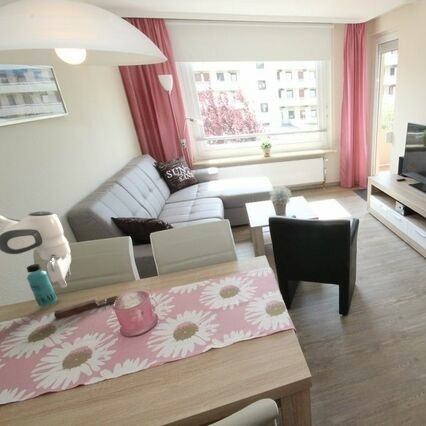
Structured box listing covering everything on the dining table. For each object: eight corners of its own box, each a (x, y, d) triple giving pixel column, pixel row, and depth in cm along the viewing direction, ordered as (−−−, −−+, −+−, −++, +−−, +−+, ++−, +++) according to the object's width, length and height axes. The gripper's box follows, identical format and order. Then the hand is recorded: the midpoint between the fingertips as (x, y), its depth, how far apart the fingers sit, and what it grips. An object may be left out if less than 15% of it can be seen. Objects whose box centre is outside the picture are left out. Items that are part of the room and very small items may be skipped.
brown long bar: (117, 297, 132) (115, 292, 131) (117, 302, 129) (115, 296, 128) (58, 315, 122) (55, 310, 121) (55, 321, 119) (53, 315, 118)
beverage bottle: (43, 303, 131) (26, 264, 124) (61, 299, 133) (45, 260, 127) (36, 311, 125) (18, 271, 119) (55, 307, 128) (38, 267, 121)
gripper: (60, 258, 108) (72, 290, 112) (69, 240, 124) (79, 269, 129) (38, 263, 105) (51, 296, 109) (49, 244, 121) (60, 273, 126)
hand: (66, 281), depth 119 cm, fingers open, 8 cm apart
